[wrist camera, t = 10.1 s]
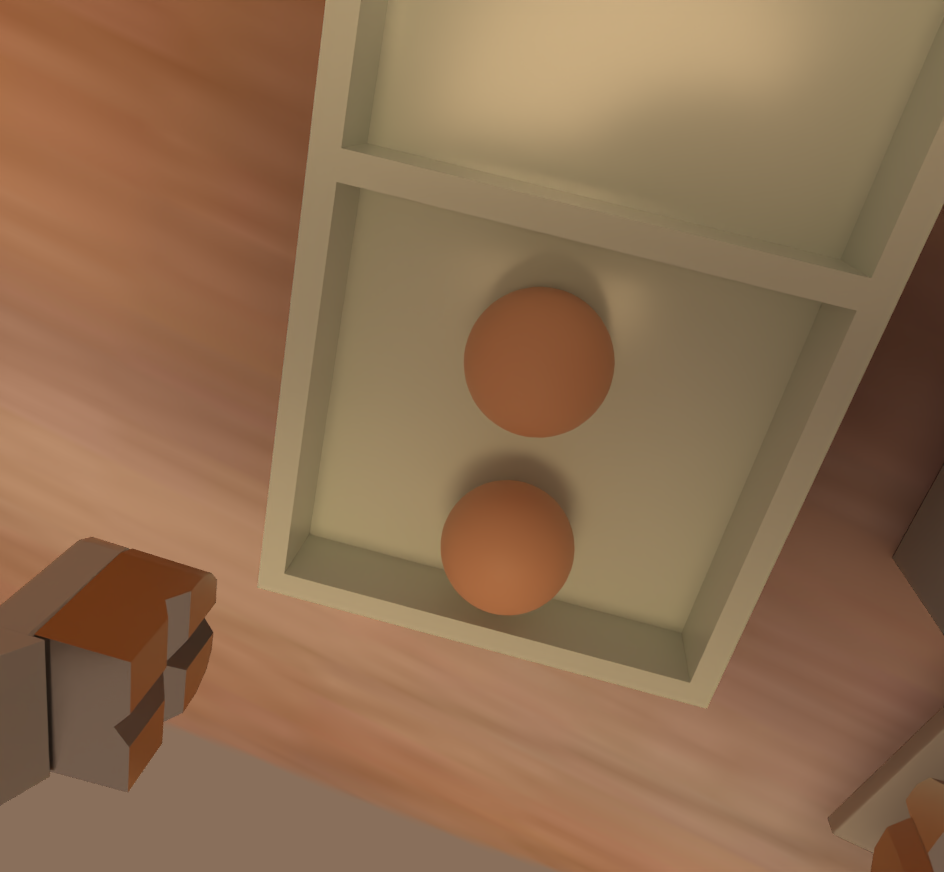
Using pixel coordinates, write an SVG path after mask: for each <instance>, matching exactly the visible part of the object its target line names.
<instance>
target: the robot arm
mask: <svg viewBox="0 0 944 872" xmlns="http://www.w3.org/2000/svg"><path fill="white" fill-rule="evenodd" d="M216 589H217V579H216V578H215V577H214V575H213V574H212V573H210V572H206V571H203V570H200V569H197V568H193V567H190V566H187V565H184V564H181V563H177V562H174V561H171V560H168V559H164V558H161V557H158V556H155V555H152V554H148V553H145V552H142V551H139V550H135V549H129V548H126V547H123V546H120V545H117V544H113V543H110V542H107V541H104V540H100V539H97V538H94V537H89V538H85V539H81V540H79V541H77V542H76V543H75V544H73V545H72V546H71V547H70V548H69V549H67V550H66V551H65V552H64V553H63V554H61V555H60V556H59V557H58V558H57V559H55V560H54V561H53V562H52V563H51V564H49V565H48V566H47V567H46V568H45V569H43V570H42V571H41V572H40V573H39V574H37V575H36V576H35V577H34V578H33V579H31V580H30V581H29V582H28V583H27V584H26V585H24V586H23V587H22V588H21V589H20V590H18V591H17V592H16V593H15V594H14V595H12V596H11V597H10V598H9V599H8V600H6V601H5V602H4V603H3V604H2V605H0V805H2V804H3V803H5V802H7V801H9V800H11V799H12V798H14V797H16V796H17V795H19V794H21V793H23V792H24V791H26V790H27V789H29V788H31V787H33V786H35V785H36V784H38V783H40V782H41V781H43V780H45V779H46V778H48V777H49V776H50V772H54V773H58V774H61V775H65V776H69V777H72V778H76V779H80V780H84V781H87V782H91V783H95V784H98V785H102V786H106V787H109V788H114V789H117V790H121V791H124V792H129V790H130V789H131V787H132V786H133V784H134V783H135V782H136V780H137V779H138V777H139V776H140V774H141V773H142V772H143V770H144V769H145V767H146V766H147V764H148V763H149V761H150V760H151V758H152V757H153V756H154V754H155V753H156V751H157V750H158V748H159V747H160V746H161V744H162V737H163V722H164V721H166V720H168V719H171V718H173V717H175V716H177V715H179V714H181V713H183V712H184V710H185V709H186V707H187V706H188V704H189V703H190V701H191V700H192V698H193V697H194V695H195V694H196V692H197V690H198V687H199V685H200V683H201V681H202V678H203V676H204V674H205V672H206V669H207V666H208V662H209V658H210V654H211V650H212V641H213V631H212V630H211V628H210V626H209V625H208V623H207V621H206V620H205V616H206V615H207V614H208V612H209V611H210V610H211V608H212V607H213V606H214V604H215V603H216ZM906 804H907V807H908V811H909V814H910V818H908V819H905V820H903V821H900V822H898V823H896V824H893V825H891V826H888V827H887V828H886V830H885V831H884V833H883V834H882V836H881V838H880V839H879V841H878V843H877V844H876V846H875V848H874V854H873V860H872V866H871V872H944V781H941V780H938V779H934V778H928V779H926V780H924V781H922V782H920V783H918V784H917V785H916V786H915V787H914V789H913V790H912V792H911V793H910V794H909V796H908V797H907V799H906Z"/></svg>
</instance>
